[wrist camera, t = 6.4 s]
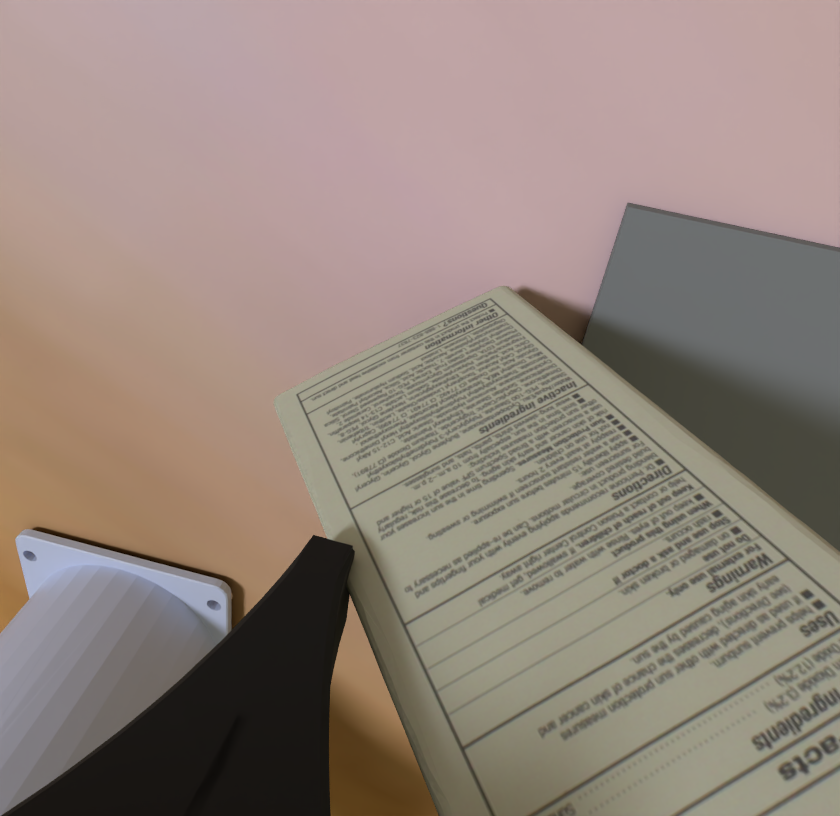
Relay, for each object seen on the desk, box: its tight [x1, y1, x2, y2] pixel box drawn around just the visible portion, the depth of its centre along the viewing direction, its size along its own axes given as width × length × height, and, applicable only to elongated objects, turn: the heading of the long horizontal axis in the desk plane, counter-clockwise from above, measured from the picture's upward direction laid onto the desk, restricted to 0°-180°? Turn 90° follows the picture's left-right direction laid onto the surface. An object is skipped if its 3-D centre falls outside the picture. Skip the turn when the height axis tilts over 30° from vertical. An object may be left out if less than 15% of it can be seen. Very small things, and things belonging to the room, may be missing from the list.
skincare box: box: [274, 286, 840, 816], centre depth 13 cm, size 6×4×12 cm
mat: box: [582, 203, 840, 552], centre depth 18 cm, size 11×14×1 cm
